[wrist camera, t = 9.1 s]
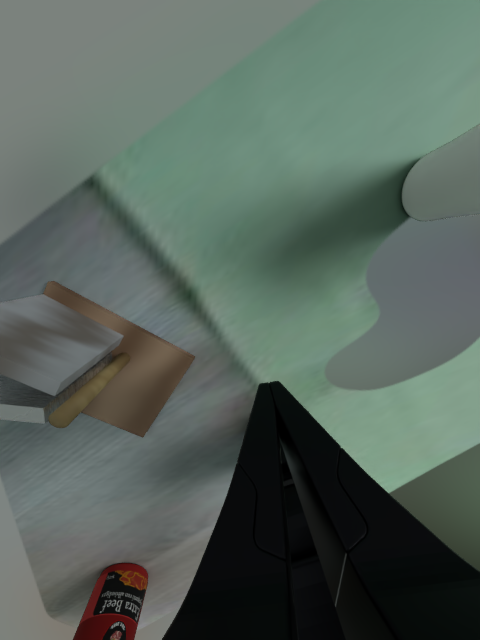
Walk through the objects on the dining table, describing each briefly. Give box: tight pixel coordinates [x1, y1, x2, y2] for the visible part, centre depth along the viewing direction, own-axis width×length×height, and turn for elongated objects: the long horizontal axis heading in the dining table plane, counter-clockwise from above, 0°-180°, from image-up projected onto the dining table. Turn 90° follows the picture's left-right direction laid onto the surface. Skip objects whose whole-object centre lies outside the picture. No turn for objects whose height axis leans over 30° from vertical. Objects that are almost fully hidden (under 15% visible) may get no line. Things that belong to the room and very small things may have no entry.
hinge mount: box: [0, 281, 195, 437], centre depth 16 cm, size 14×12×9 cm
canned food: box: [73, 563, 148, 640], centre depth 27 cm, size 8×8×11 cm
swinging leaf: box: [0, 352, 112, 424], centre depth 15 cm, size 8×1×8 cm, turn 79°
